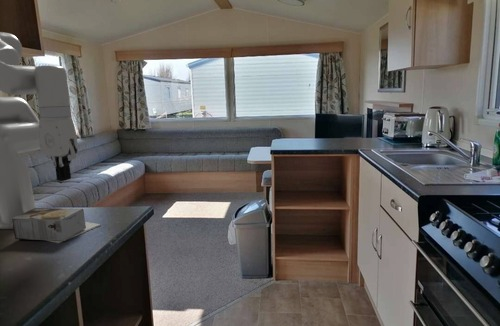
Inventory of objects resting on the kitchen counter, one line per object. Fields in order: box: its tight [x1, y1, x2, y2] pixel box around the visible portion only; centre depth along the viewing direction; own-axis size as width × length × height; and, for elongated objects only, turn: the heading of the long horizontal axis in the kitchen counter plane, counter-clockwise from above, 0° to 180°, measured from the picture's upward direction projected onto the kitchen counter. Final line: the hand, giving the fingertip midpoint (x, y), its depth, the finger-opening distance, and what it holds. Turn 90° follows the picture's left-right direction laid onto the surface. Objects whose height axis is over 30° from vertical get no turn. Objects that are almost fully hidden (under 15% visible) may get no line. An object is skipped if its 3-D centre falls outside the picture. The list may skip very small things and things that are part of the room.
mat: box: [45, 221, 102, 244], centre depth 108 cm, size 16×14×1 cm
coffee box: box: [12, 207, 86, 242], centre depth 103 cm, size 9×6×16 cm
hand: (64, 179), depth 101 cm, fingers closed
